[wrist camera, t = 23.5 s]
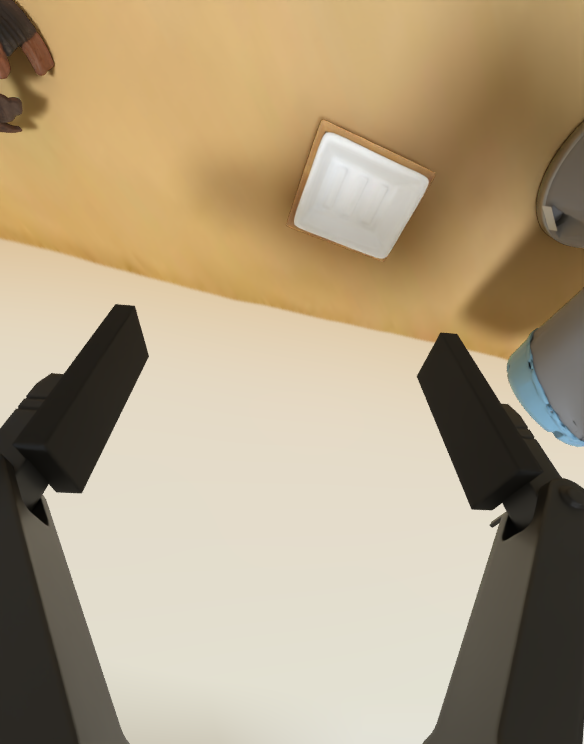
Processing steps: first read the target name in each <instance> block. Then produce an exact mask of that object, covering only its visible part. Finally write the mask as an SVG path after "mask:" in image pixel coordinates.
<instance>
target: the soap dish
mask: <svg viewBox="0 0 584 744" xmlns="http://www.w3.org/2000/svg"><path fill="white" fill-rule="evenodd" d="M435 175H436V173H434V172H433V171H431V170H429V169H426V168H424V167H422V166H420V165H418V164H416V163H414V162H412V161H410V160H408V159H406V158H404V157H402V156H400V155H397V154H395V153H393V152H391V151H389V150H387V149H385V148H383V147H381V146H379V145H376V144H374V143H372V142H370V141H368V140H366V139H364V138H362V137H359V136H357V135H355V134H353V133H351V132H349V131H347V130H345V129H342V128H340V127H338V126H336V125H334V124H332V123H330V122H328V121H326V120H323V119H322V120H321V122H320V125H319V128H318V131H317V134H316V137H315V140H314V143H313V145H312V148H311V151H310V154H309V157H308V160H307V163H306V166H305V169H304V172H303V175H302V178H301V181H300V184H299V187H298V190H297V193H296V196H295V199H294V202H293V205H292V208H291V211H290V214H289V217H288V220H287V224H286V226H288V227H290V228H293V229H295V230H298V231H300V232H303V233H306V234H308V235H311V236H313V237H316V238H319V239H322V240H324V241H327V242H330V243H332V244H335V245H338V246H341V247H343V248H346V249H349V250H352V251H354V252H357V253H360V254H363V255H365V256H368V257H371V258H374V259H376V260H379V261H382V262H384V260H385V259H386V258H387V256H388V255H389V253H390V251H391V250H392V248H393V246H394V245H395V243H396V241H397V240H398V238H399V236H400V235H401V233H402V231H403V230H404V228H405V227H406V225H407V223H408V221H409V220H410V218H411V216H412V215H413V213H414V211H415V210H416V208H417V206H418V204H419V203H420V201H421V200H422V198H423V196H424V195H425V193H426V191H427V189H428V188H429V186H430V184H431V183H432V181H433V179H434V177H435Z"/></svg>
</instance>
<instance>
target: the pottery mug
mask: <svg viewBox="0 0 584 744" xmlns="http://www.w3.org/2000/svg"><path fill="white" fill-rule="evenodd" d="M17 47H21V49H22V50H23V52H24V53H25V54H26V56H27V58H28V59H29V61H30V63H31V64H32V66H33V68H34V70H35V72H36V73H37V74H38V75H41V76H42V75H45V74H46V73H47V71H48V70H50V69H51V68H52V67H53V66H54V62H53V60H52V57H51V55H50V52H49V51H48V49H47V47H46V45H45V43H44V42H43V40H42V39H41V37H40V35H39V34H38V32H37V31H36V29H35V27H34V26H33V25H32V23H31V22H30V20H29V19H28V18H27V16H26V15H25V13H24V12H23V11H22V10H21V9H20V8H19V7H18V6H17V5H16V3H15V2H14V1H13V0H0V79H5V78H7V77H8V75H9V73H10V69H11V68H10V64H9V61H8V59H7V56H10V55H11V54H12V53H13V51H14V50H15V49H17ZM20 114H22V102H21V100H20V99H19V98H16V97H10V98H7V97H6V96H5V95H2V94H0V132H6V133H16V132H21V131H22V129H21V128H20V127H19V126H13V125H10V124H8V123H6V122H10V121H13V120H14V119H15V117H16V116H17V115H20Z"/></svg>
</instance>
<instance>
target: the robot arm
mask: <svg viewBox="0 0 584 744" xmlns="http://www.w3.org/2000/svg"><path fill="white" fill-rule="evenodd" d="M536 209H537V218H538V221H539V224H540V226H541V228H542V229H543V230H544V232H545V233H546V234H547V235H549V236H550V237H552V238H553V239H555V240H557V241H558V242H560V243H562V244H564V245H568V246H572V247H577V248H584V121H583V122H582V123H581V124H580V125H579V126H578V127H577V128H576V129H575V131H574V132H573V133H572V134H571V135H570V136H569V137H568V139H567V140H566V141H565V142H564V144H563V145H562V146H561V148H560V149H559V151H558V152H557V153H556V155H555V157H554V158H553V160H552V161H551V163H550V165H549V167H548V169H547V171H546V173H545V175H544V177H543V180H542V183H541V185H540V189H539V192H538V197H537V206H536ZM148 357H149V355H148V352H147V348H146V344H145V341H144V337H143V334H142V330H141V326H140V323H139V319H138V316H137V312H136V309H135V306H130V305H118V304H116V305H115V306H114V307H113V308H112V310H111V311H110V312H109V314H108V315H107V317H106V318H105V319H104V321H103V322H102V323H101V324H100V326H99V327H98V329H97V330H96V331H95V333H94V334H93V335H92V337H91V338H90V339H89V341H88V342H87V344H86V345H85V346H84V348H83V349H82V350H81V352H80V353H79V354H78V356H77V357H76V358H75V360H74V361H73V362H72V364H71V365H70V366H69V368H68V369H67V371H66V372H65V373H64V374H53V373H51V374H50V375H48V376H47V377H45V378H44V379H42V380H41V381H40V382H38V383H37V384H36V385H35V386H34V387H33V388H32V390H31V391H30V392H29V393H28V395H27V396H26V397H27V398H26V399H24V400H23V401H22V402H21V403H20V405H19V406H18V409H16V410H15V411H14V412H13V413H12V415H11V416H10V417H9V418H8V420H7V421H6V422H5V423H4V425H3V426H2V427H1V428H0V744H129V742H128V741H127V740H126V738H125V736H124V735H123V732H122V730H121V727H120V725H119V721H118V718H117V715H116V712H115V709H114V706H113V703H112V700H111V697H110V694H109V691H108V688H107V684H106V681H105V678H104V675H103V672H102V669H101V666H100V663H99V660H98V657H97V654H96V651H95V648H94V645H93V642H92V639H91V636H90V633H89V630H88V626H87V623H86V621H85V617H84V614H83V611H82V608H81V605H80V602H79V599H78V596H77V593H76V590H75V587H74V584H73V581H72V578H71V574H70V571H69V568H68V565H67V562H66V560H65V556H64V553H63V550H62V547H61V544H60V541H59V538H58V535H57V532H56V529H55V526H54V523H53V520H52V516H51V513H50V510H49V507H48V504H47V501H46V499H45V497H44V496H43V495H42V494H43V493H44V491H45V489H46V488H47V486H48V484H49V485H50V486H51V487H52V488H53V489H54V490H55V491H56V492H61V493H62V492H63V493H82V491H83V490H84V488H85V486H86V484H87V481H88V479H89V477H90V475H91V473H92V471H93V469H94V467H95V465H96V463H97V461H98V459H99V457H100V455H101V453H102V451H103V449H104V447H105V445H106V443H107V441H108V438H109V437H110V434H111V432H112V430H113V428H114V426H115V424H116V422H117V420H118V418H119V416H120V414H121V412H122V410H123V408H124V406H125V404H126V402H127V400H128V398H129V396H130V394H131V392H132V390H133V388H134V386H135V383H136V381H137V379H138V377H139V375H140V373H141V371H142V369H143V367H144V365H145V363H146V361H147V359H148ZM507 373H508V375H507V376H508V381H509V383H510V386H511V388H512V390H513V392H514V394H515V395H516V397H517V399H518V400H519V402H520V403H521V405H522V406H523V407H524V409H525V410H526V411H527V412H528V413H529V415H530V416H531V417H532V418H533V419H534V420H535V421H536V422H537V423H538V424H539V425H540V426H541V427H542V428H544V429H545V430H546V431H548V432H552V433H553V434H554V436H555V437H556V438H557V439H559V440H561V441H562V442H564V443H566V444H569V445H572V446H576V447H582V446H584V288H583V289H582V290H581V291H580V292H579V293H578V294H576V295H575V296H574V297H573V298H572V299H571V300H570V301H569V302H568V303H566V304H565V305H564V306H563V307H562V308H561V309H560V310H559V311H558V312H556V313H555V314H554V315H553V316H552V317H551V318H550V319H549V320H548V321H546V322H545V323H544V324H543V325H542V326H541V327H539V328H537V329H535V330H534V331H533V332H532V333H530V335H529V337H528V339H527V340H526V341H525V342H524V343H523V344H522V345H521V346H520V347H519V348H518V349H517V350H516V351H515V352H514V353H513V354H512V355H511V356H510V358H509V360H508V363H507ZM417 378H418V380H419V383H420V385H421V388H422V390H423V393H424V395H425V397H426V400H427V402H428V405H429V407H430V410H431V412H432V414H433V417H434V419H435V422H436V424H437V426H438V429H439V431H440V434H441V436H442V438H443V441H444V444H445V446H446V448H447V451H448V453H449V456H450V458H451V460H452V463H453V465H454V468H455V470H456V472H457V475H458V477H459V480H460V482H461V485H462V487H463V489H464V492H465V494H466V497H467V499H468V502H469V504H470V506H471V509H474V510H493V509H495V508H496V507H497V506H498V505H500V504H501V503H503V505H504V507H505V509H506V512H505V513H504V514H502V515H501V516H499V517H498V518H496V519H495V520H494V521H492V522H491V524H490V526H491V527H494V526H496V525H497V524H499V527H498V530H497V533H496V536H495V539H494V542H493V546H492V549H491V552H490V555H489V558H488V562H487V565H486V568H485V571H484V574H483V578H482V581H481V584H480V587H479V590H478V594H477V597H476V600H475V603H474V607H473V610H472V613H471V616H470V619H469V623H468V626H467V629H466V632H465V635H464V638H463V641H462V645H461V648H460V651H459V655H458V657H457V661H456V664H455V667H454V670H453V673H452V677H451V680H450V683H449V686H448V690H447V693H446V696H445V699H444V703H443V706H442V709H441V712H440V715H439V718H438V722H437V724H436V726H435V729H434V730H433V732H432V733H431V735H430V736H429V737H428V738H427V739H426V740H425V741H424V742H423V744H582V742H583V727H584V489H583V488H582V487H581V486H579V485H578V484H576V483H575V482H572V481H570V480H568V479H564V478H562V477H561V476H560V475H559V473H558V472H557V470H556V469H555V467H554V466H553V464H552V463H551V461H550V460H549V458H548V457H547V455H546V454H545V452H544V451H543V449H542V448H541V446H540V445H539V443H538V442H537V440H536V439H534V436H533V434H532V433H531V431H530V430H528V427H527V425H526V424H525V422H524V421H523V419H522V418H521V416H520V415H519V414H518V413H517V412H516V411H515V410H514V409H512V408H511V407H510V406H509V405H508V404H501V403H500V401H499V400H498V398H497V397H496V395H495V394H494V392H493V390H492V389H491V387H490V386H489V384H488V382H487V381H486V379H485V378H484V376H483V374H482V373H481V371H480V370H479V368H478V367H477V365H476V363H475V362H474V360H473V359H472V357H471V355H470V354H469V352H468V351H467V349H466V347H465V346H464V344H463V343H462V341H461V339H460V338H459V336H458V335H457V334H451V333H440V335H439V336H438V338H437V340H436V342H435V344H434V346H433V348H432V349H431V351H430V353H429V355H428V357H427V359H426V360H425V362H424V364H423V366H422V368H421V370H420V371H419V373H418V375H417Z"/></svg>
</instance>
